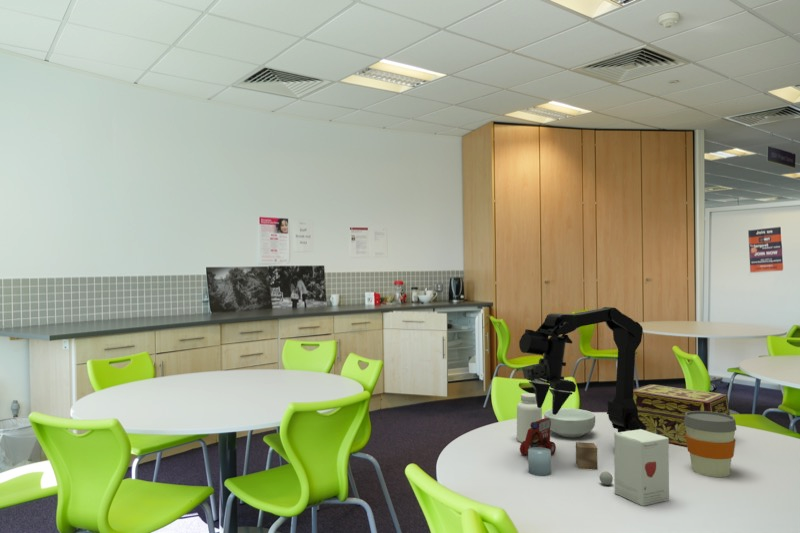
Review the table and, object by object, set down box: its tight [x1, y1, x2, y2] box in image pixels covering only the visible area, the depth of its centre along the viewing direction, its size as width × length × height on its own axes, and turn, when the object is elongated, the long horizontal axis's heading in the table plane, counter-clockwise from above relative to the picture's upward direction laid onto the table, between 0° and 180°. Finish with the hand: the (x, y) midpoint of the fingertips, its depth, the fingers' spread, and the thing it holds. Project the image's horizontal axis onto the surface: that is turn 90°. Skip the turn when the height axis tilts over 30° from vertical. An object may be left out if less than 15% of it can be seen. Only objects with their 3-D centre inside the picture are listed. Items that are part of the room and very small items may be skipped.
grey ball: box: [599, 470, 614, 486], centre depth 144 cm, size 3×3×3 cm
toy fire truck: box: [519, 417, 557, 457], centre depth 169 cm, size 7×12×10 cm, turn 133°
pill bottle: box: [516, 392, 543, 443], centre depth 183 cm, size 8×8×15 cm
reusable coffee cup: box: [684, 411, 737, 478], centre depth 153 cm, size 12×13×15 cm
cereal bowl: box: [543, 407, 596, 438], centre depth 190 cm, size 17×17×7 cm
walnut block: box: [575, 441, 598, 471], centre depth 158 cm, size 5×5×6 cm
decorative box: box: [633, 383, 731, 448], centre depth 186 cm, size 28×19×15 cm
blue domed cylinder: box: [527, 447, 552, 477], centre depth 154 cm, size 6×6×6 cm
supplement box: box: [613, 429, 670, 507], centre depth 136 cm, size 9×9×15 cm
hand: (546, 411), depth 162 cm, fingers open, 9 cm apart
